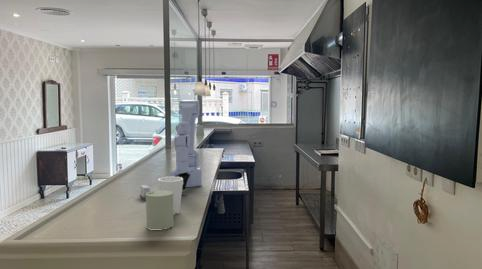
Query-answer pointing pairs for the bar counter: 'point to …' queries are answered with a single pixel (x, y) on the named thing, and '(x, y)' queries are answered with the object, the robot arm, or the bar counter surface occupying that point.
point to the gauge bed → (146, 189)
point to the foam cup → (172, 189)
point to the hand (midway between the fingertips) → (182, 189)
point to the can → (159, 209)
